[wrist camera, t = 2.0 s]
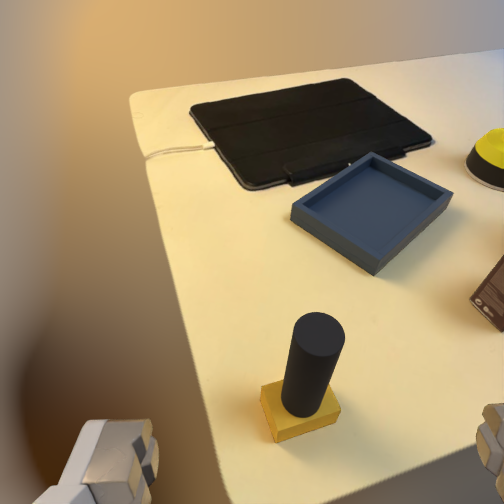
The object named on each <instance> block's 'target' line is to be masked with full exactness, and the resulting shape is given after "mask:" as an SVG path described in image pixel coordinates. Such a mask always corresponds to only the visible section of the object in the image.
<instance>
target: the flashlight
mask: <svg viewBox="0 0 504 504" xmlns="http://www.w3.org/2000/svg"><path fill="white" fill-rule="evenodd" d="M464 166H465V169H466V171H467V172H468V174H469V175H470V176H471V177H472V178H474V179H475V180H476V181H478V182H479V183H481V184H483V185H485V186H487V187H490V188H493V189H496V190H500V191H504V128H499V129H493V130H491V131H489V132H488V133H487V134H485V135H484V136H483V137H482V138H480V139H479V140H478V141H477V142H476V144H475V145H474V147H473V149H472V150H471V152H470V154H469V155H468V157H467V158H466V160H465V162H464Z"/></svg>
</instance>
